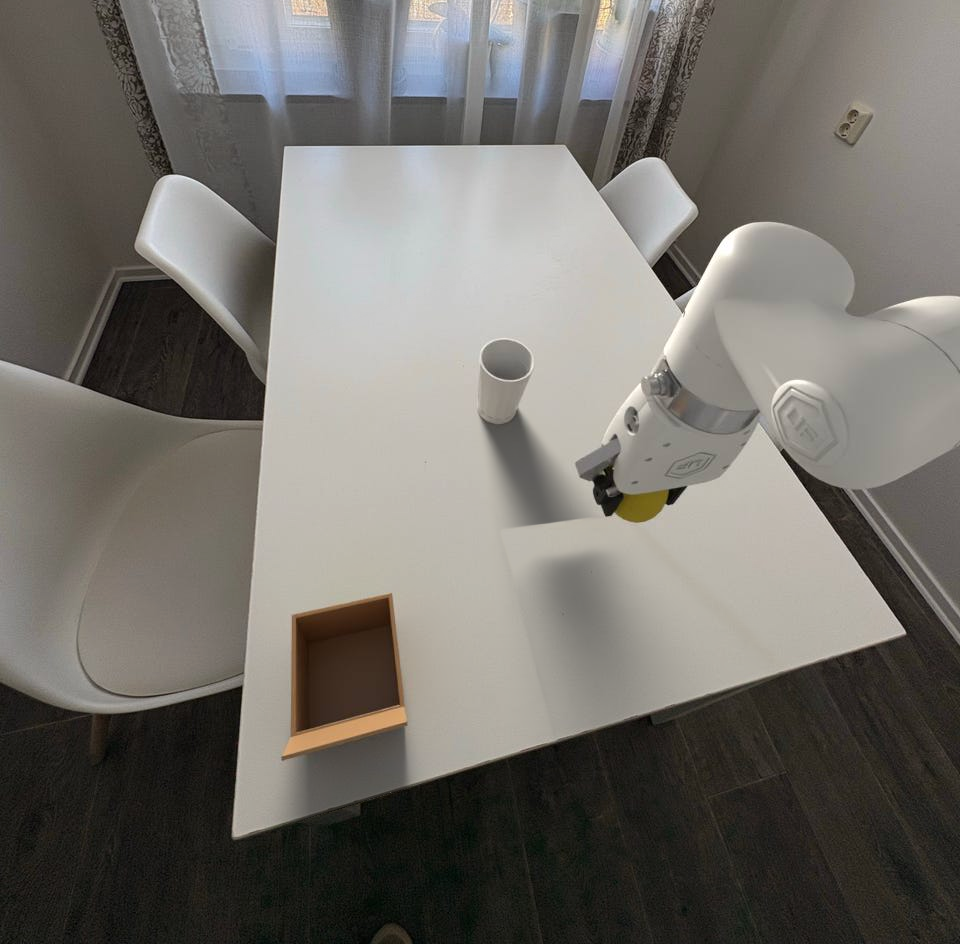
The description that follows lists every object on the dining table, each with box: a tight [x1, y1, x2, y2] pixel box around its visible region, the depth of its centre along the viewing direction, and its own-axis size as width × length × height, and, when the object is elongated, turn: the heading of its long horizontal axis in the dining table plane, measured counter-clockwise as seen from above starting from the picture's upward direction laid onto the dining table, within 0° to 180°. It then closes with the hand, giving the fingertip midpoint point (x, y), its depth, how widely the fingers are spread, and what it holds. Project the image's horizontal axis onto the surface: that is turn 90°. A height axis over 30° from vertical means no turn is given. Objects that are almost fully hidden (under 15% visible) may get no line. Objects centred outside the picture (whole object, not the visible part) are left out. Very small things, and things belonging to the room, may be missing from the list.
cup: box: [476, 337, 536, 425], centre depth 80 cm, size 8×8×12 cm
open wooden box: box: [290, 592, 406, 737], centre depth 53 cm, size 10×10×10 cm
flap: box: [280, 706, 408, 761], centre depth 44 cm, size 5×10×1 cm
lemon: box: [613, 468, 669, 524], centre depth 50 cm, size 6×6×8 cm
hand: (633, 494), depth 51 cm, fingers closed on lemon, 5 cm apart
